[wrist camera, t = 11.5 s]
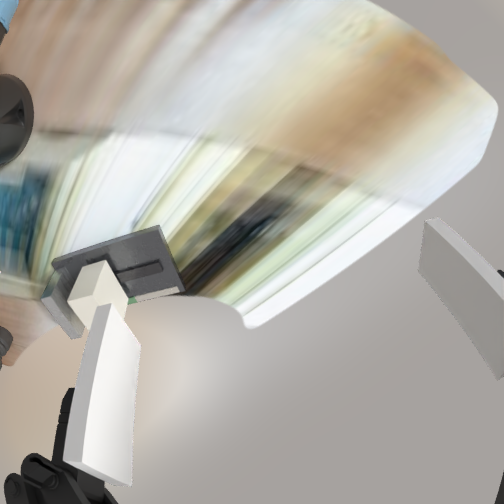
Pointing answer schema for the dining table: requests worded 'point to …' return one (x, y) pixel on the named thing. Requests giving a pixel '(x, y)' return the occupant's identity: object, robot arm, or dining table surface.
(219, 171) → the dining table surface
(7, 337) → the candle holder
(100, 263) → the block
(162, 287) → the frame
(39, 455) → the robot arm
